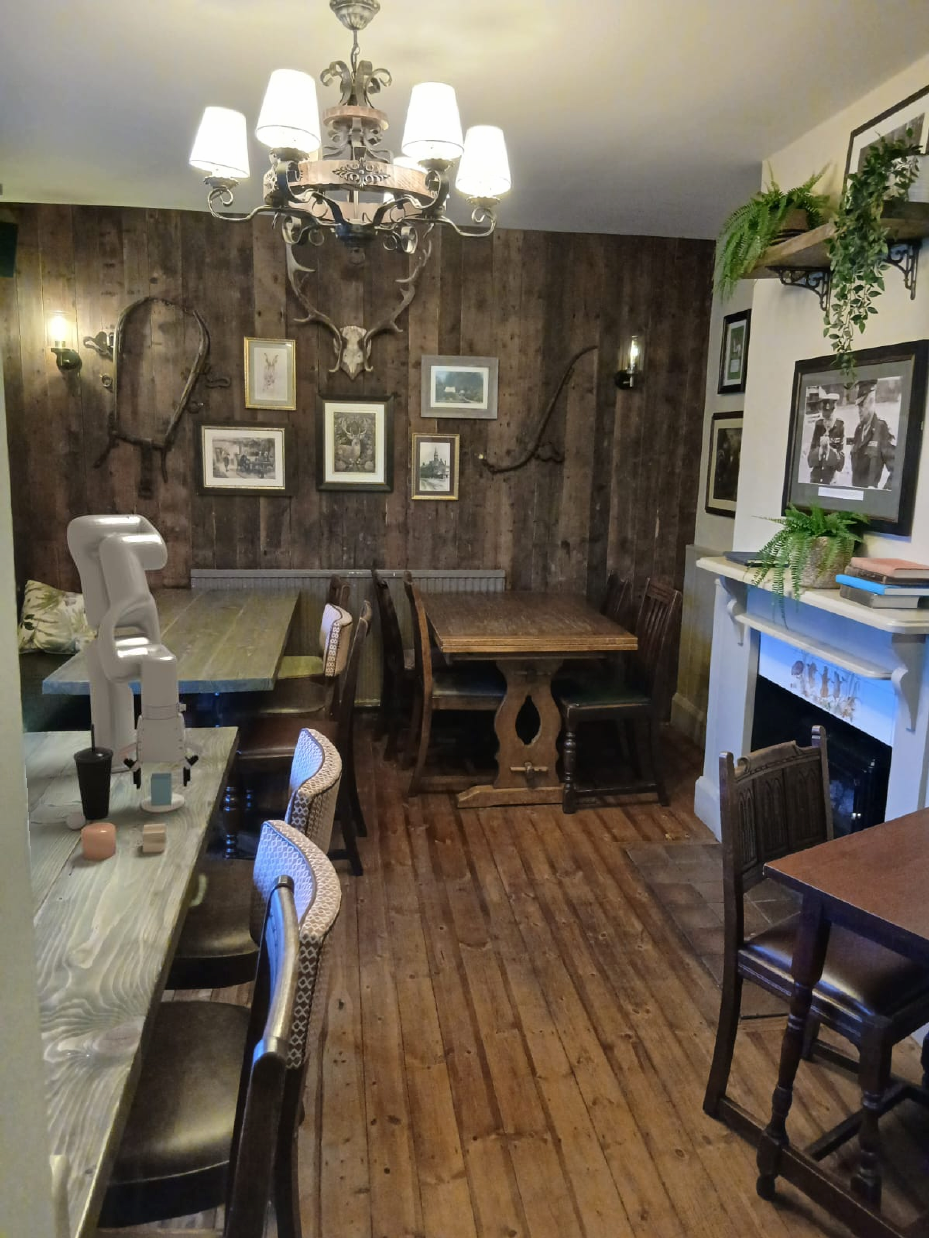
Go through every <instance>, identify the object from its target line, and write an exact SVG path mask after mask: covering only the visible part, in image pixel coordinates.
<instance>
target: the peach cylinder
mask: <svg viewBox="0 0 929 1238" xmlns="http://www.w3.org/2000/svg"><path fill="white" fill-rule="evenodd" d="M116 838H117V837H116V825H114V824H112V823H110V822H95V823H91V824H88V825H86V826H84V827H83V828H81V830H80V839H81V840H80V842H81V857H82V858H83V859H84V860H86V861H91V862H95V861H96V862H97V861H103V860H107V859H110V858H112V857H113V856H115V855H116V853H117V841H116V840H117V839H116Z"/></svg>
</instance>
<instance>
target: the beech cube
mask: <svg viewBox="0 0 929 1238" xmlns="http://www.w3.org/2000/svg"><path fill="white" fill-rule="evenodd" d="M166 847H167V823H155V824H154V823H152V824H144V826H143V830H142V853H155V852H156V853H157V852H165V851H166Z"/></svg>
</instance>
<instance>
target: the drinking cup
mask: <svg viewBox="0 0 929 1238" xmlns="http://www.w3.org/2000/svg"><path fill="white" fill-rule="evenodd" d="M90 741H91V742H90V745H91V747H86V748H83V749H82V750H79V751H77V752H75V753H74V754H73V756H72V757H73V760H74V761H75V768H76V773H77V781H78V787H79V796H80V801H81V808H82V813H83V814H84V816H85V820H88V821H99V820H103V819H104V818H108V816H109V814H110V813H109V812H110V797H111V796H110V794H111V793H110V792H111V779H112V773H111V766H112V757H113V755H114V753H113V751H112V750H110V749H107V748H103V747H95V734H94V724H92V723H91V724H90Z"/></svg>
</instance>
